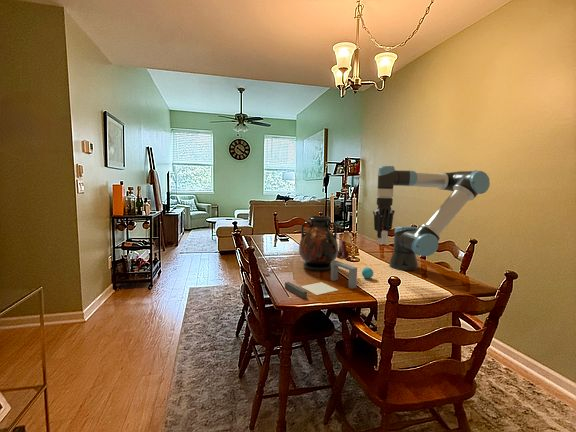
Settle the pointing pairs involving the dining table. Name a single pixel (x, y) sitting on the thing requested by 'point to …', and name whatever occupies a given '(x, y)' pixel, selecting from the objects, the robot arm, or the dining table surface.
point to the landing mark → (319, 288)
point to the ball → (367, 272)
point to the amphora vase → (318, 244)
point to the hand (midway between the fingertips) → (382, 243)
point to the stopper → (296, 290)
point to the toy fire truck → (342, 249)
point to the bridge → (351, 269)
